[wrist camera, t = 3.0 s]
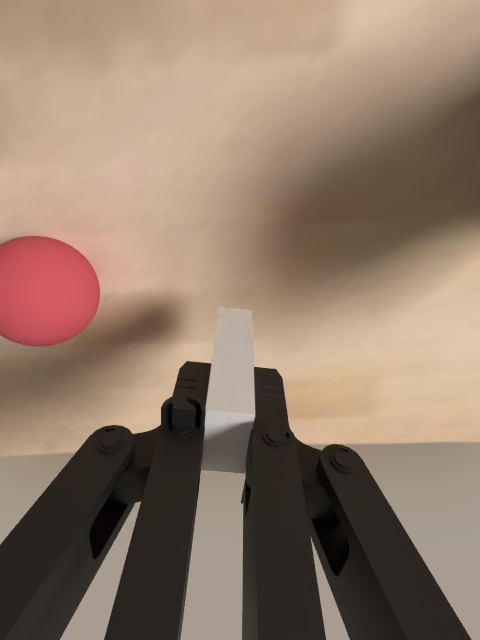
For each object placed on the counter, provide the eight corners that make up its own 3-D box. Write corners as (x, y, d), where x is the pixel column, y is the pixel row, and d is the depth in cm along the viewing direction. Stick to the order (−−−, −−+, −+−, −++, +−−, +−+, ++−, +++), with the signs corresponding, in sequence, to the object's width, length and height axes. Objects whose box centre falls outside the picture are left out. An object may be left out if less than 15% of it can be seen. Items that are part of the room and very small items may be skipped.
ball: (24, 308, 22) (-37, 363, 17) (4, 217, 19) (-75, 252, 14) (116, 317, 22) (81, 373, 17) (110, 228, 19) (66, 267, 14)
